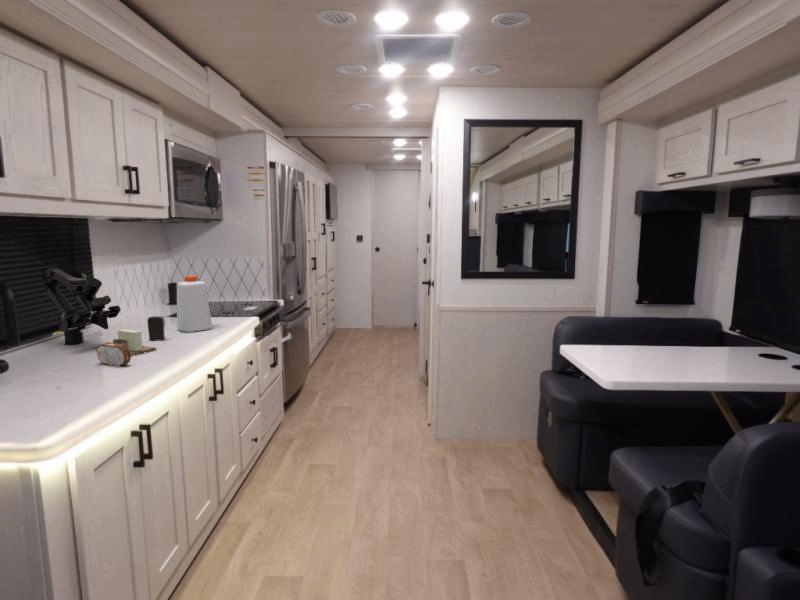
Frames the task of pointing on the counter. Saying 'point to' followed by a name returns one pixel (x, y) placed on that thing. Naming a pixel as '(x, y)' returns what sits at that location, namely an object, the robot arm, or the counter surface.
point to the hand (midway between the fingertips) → (107, 328)
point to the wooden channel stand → (145, 349)
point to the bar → (131, 339)
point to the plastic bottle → (192, 306)
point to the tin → (113, 354)
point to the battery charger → (156, 328)
